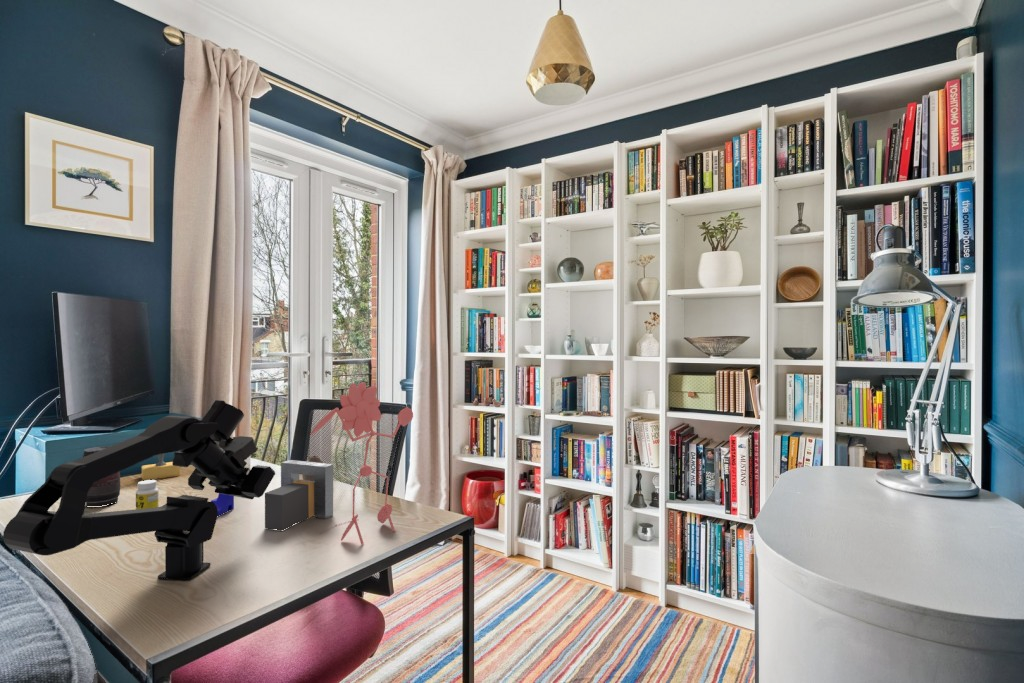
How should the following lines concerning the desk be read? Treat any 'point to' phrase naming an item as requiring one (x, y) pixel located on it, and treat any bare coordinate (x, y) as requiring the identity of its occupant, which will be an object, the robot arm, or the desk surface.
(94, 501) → the camera lens
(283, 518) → the plug
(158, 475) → the rubber stamp
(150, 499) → the supplement bottle
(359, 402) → the figurine
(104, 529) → the robot arm
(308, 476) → the vase
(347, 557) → the desk surface
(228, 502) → the cable clip
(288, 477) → the frame
